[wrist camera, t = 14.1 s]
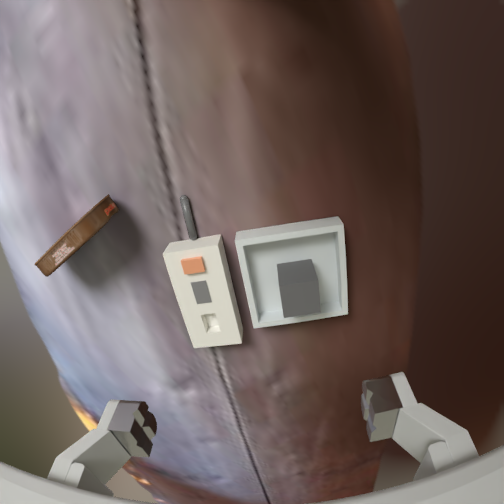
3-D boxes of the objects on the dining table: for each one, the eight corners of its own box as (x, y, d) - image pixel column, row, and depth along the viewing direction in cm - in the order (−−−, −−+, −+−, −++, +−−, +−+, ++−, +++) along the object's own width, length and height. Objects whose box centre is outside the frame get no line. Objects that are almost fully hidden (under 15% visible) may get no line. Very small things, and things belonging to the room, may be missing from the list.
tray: (236, 231, 41) (234, 240, 39) (338, 216, 40) (343, 224, 37) (254, 315, 46) (253, 328, 44) (343, 302, 45) (347, 314, 43)
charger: (276, 259, 42) (278, 286, 36) (310, 254, 42) (318, 280, 35) (280, 288, 44) (283, 318, 38) (313, 283, 43) (321, 312, 37)
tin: (117, 186, 39) (87, 205, 32) (131, 205, 40) (104, 227, 33) (53, 244, 43) (23, 269, 35) (65, 260, 44) (37, 287, 36)
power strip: (158, 199, 40) (147, 209, 36) (211, 189, 39) (205, 197, 35) (197, 333, 48) (193, 350, 44) (243, 328, 47) (241, 346, 44)
